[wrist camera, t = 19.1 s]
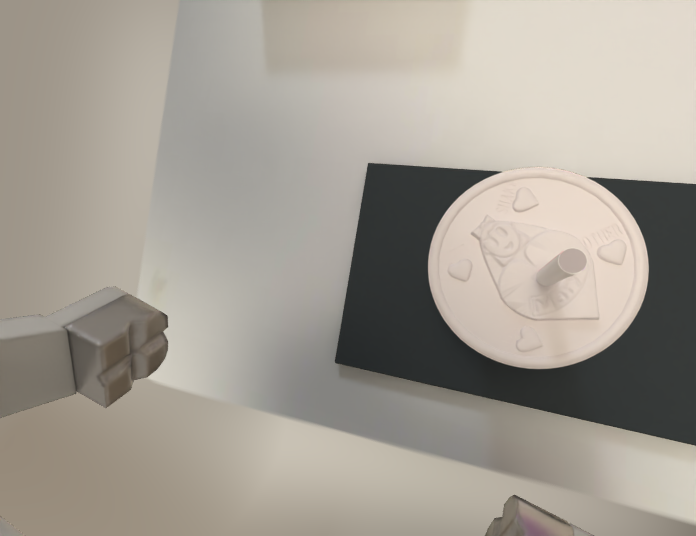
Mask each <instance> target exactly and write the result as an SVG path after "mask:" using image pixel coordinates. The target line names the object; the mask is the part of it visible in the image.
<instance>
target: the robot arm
mask: <svg viewBox="0 0 696 536" xmlns="http://www.w3.org/2000/svg"><path fill="white" fill-rule="evenodd" d="M166 328H168V316H167V315H166V314H164V313H163V312H161V311H159V310H157V309H156V308H154V307H152V306H150V305H148V304H147V303H145V302H143V301H141V300H140V299H138V298H136V297H134V296H132V295H130V294H128V293H126V292H124V291H123V290H121V289H119V288H117V287H106V288H104V289H102V290H100V291H98V292H96V293H94V294H91V295H89V296H87V297H85V298H83V299H81V300H79V301H77V302H75V303H73V304H71V305H69V306H67V307H65V308H63V309H60V310H58V311H56V312H54V313H52V314H50V315H48V316H46V317H44V316H42V315H40V314H39V315H31V316H23V317H15V318H6V319H0V418H1V417H5V416H7V415H11V414H14V413H17V412H20V411H23V410H27V409H30V408H33V407H36V406H39V405H42V404H45V403H49V402H52V401H55V400H58V399H61V398H64V397H68V396H71V395H74V394H76V391H77V392H79V393H80V394H82V395H84V396H86V397H87V398H89V399H91V400H92V401H94V402H96V403H98V404H99V405H101V406H103V407H105V408H107V407H108V406H110V405H111V404H112V403H114V402H115V401H116V400H117V399H119V398H120V397H122V396H123V395H124V394H126V393H127V392H128V391H129V390H131V388H132V385H133V382H134V380H137V379H141V378H146V377H148V376H149V375H151V374H152V373H153V372H154V371H156V370H157V369H158V367H159V366H160V365H161V363H162V362H163V361H164V359H165V357H166V354H167V351H168V341H167V338H166V336H165V334H164V332H163V331H164V330H165V329H166ZM0 536H26V535H24V534H23V533H22V532H21V531H19V530H18V529H17V528H15V527H14V526H13V525H11V524H10V523H9V522H8V521H6V520H5V519H4V518H2V517H1V516H0ZM485 536H594V535H592V534H590V533H588V532H586V531H584V530H582V529H580V528H578V527H576V526H574V525H572V524H570V523H568V522H567V521H565V520H563V519H561V518H559V517H557V516H556V515H553V514H552V513H549V512H548V511H546V510H544V509H542V508H540V507H538V506H536V505H534V504H531V503H530V502H528V501H526V500H524V499H522V498H520V497H518V496H516V495H513V496H511V497H510V498H509V499H508V500H507V502H506V503H505V504H504V510H503V517H499V518H495V519H494V520H493V522H492V523H491V525H490V526H489V528H488V530H487V533H486V535H485Z"/></svg>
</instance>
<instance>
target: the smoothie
mask: <svg viewBox="0 0 696 536" xmlns="http://www.w3.org/2000/svg"><path fill="white" fill-rule="evenodd" d="M648 273H649V265H648V255H647V249H646V245H645V242H644V238H643V236H642V233H641V231H640V228H639V226H638V225H637V223H636V221H635V219H634V218H633V216H632V215H631V213H630V212H629V211H628V209H627V208H626V207H625V206H624V205H623V203H622V202H621V201H620V200H619V199H618V198H617V197H616V196H614V195H613V194H612V193H611V192H610V191H608V190H607V189H606V188H604V187H603V186H601V185H600V184H598V183H596V182H595V181H593V180H591V179H589V178H587V177H584V176H582V175H579V174H576V173H574V172H570V171H566V170H562V169H556V168H548V167H527V168H518V169H513V170H509V171H505V172H501V173H498V174H496V175H493V176H491V177H489V178H486V179H484V180H482V181H481V182H479V183H477V184H475V185H474V186H472V187H471V188H470V189H468V190H467V191H465V192H464V193H463V194H462V195H461V196H460V197H459V198H458V199H457V200H456V201H455V202H454V203H453V204H452V205H451V206H450V207H449V209H448V210H447V211H446V213H445V214H444V216H443V217H442V219H441V220H440V222H439V224H438V226H437V228H436V231H435V233H434V236H433V239H432V242H431V246H430V251H429V258H428V276H429V283H430V288H431V292H432V295H433V299H434V301H435V304H436V306H437V308H438V310H439V312H440V314H441V316H442V317H443V319H444V321H445V322H446V323H447V325H448V326H449V327H450V328H451V329H452V331H453V332H454V333H455V334H456V335H457V336H458V337H459V338H460V339H461V340H462V341H463V342H465V343H466V344H467V345H468V346H470V347H471V348H473V349H474V350H476V351H477V352H479V353H481V354H482V355H484V356H486V357H488V358H490V359H493V360H495V361H498V362H501V363H504V364H507V365H511V366H515V367H521V368H528V369H551V368H558V367H563V366H568V365H572V364H575V363H578V362H581V361H584V360H586V359H588V358H590V357H592V356H594V355H596V354H598V353H599V352H601V351H603V350H604V349H606V348H607V347H608V346H610V345H611V344H612V343H613V342H615V341H616V340H617V339H618V338H619V337H620V336H621V335H622V334H623V333H624V332H625V331H626V329H627V328H628V327H629V325H630V324H631V323H632V321H633V320H634V318H635V316H636V315H637V313H638V311H639V309H640V307H641V304H642V302H643V299H644V296H645V293H646V289H647V283H648Z"/></svg>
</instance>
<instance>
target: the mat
mask: <svg viewBox="0 0 696 536" xmlns="http://www.w3.org/2000/svg"><path fill="white" fill-rule="evenodd" d="M498 173H501V172H498V171H483V170H467V169H452V168H436V167H421V166H405V165H390V164H374V163H368V167H367V173H366V179H365V185H364V191H363V197H362V203H361V209H360V215H359V221H358V227H357V233H356V239H355V245H354V251H353V257H352V263H351V269H350V275H349V281H348V287H347V293H346V299H345V305H344V311H343V317H342V323H341V329H340V335H339V341H338V347H337V353H336V359H335V363H338V364H342V365H347V366H351V367H355V368H360V369H364V370H369V371H373V372H377V373H382V374H386V375H390V376H395V377H399V378H403V379H408V380H412V381H417V382H421V383H425V384H430V385H434V386H438V387H443V388H447V389H451V390H456V391H460V392H465V393H469V394H473V395H478V396H482V397H486V398H491V399H495V400H499V401H504V402H508V403H513V404H517V405H521V406H526V407H530V408H534V409H539V410H543V411H547V412H552V413H556V414H561V415H565V416H569V417H574V418H578V419H582V420H587V421H591V422H595V423H600V424H604V425H609V426H613V427H617V428H622V429H626V430H630V431H635V432H639V433H643V434H648V435H652V436H657V437H661V438H665V439H670V440H674V441H678V442H683V443H687V444H691V445H696V184H684V183H669V182H653V181H638V180H622V179H607V178H591V177H587V178H589V179H591V180H593V181H595V182H596V183H598V184H600V185H601V186H603V187H604V188H606V189H607V190H608V191H610V192H611V193H612V194H613V195H614V196H616V197H617V198H618V199H619V200H620V201H621V202H622V203H623V205H624V206H625V207H626V208H627V209H628V211H629V212H630V213H631V215H632V216H633V218H634V219H635V221H636V223H637V225H638V226H639V228H640V231H641V233H642V236H643V238H644V242H645V245H646V249H647V255H648V265H649V273H648V283H647V289H646V293H645V296H644V299H643V302H642V304H641V307H640V309H639V311H638V313H637V315H636V316H635V318H634V320H633V321H632V323H631V324H630V325H629V327H628V328H627V329H626V331H625V332H624V333H623V334H622V335H621V336H620V337H619V338H618V339H617V340H616V341H615V342H613V343H612V344H611V345H610V346H608V347H607V348H606V349H604V350H603V351H601V352H599V353H598V354H596V355H594V356H592V357H590V358H588V359H586V360H584V361H581V362H578V363H575V364H572V365H568V366H563V367H558V368H551V369H528V368H521V367H515V366H511V365H507V364H504V363H501V362H498V361H495V360H493V359H490V358H488V357H486V356H484V355H482V354H481V353H479V352H477V351H476V350H474V349H473V348H471V347H470V346H468V345H467V344H466V343H465V342H463V341H462V340H461V339H460V338H459V337H458V336H457V335H456V334H455V333H454V332H453V331H452V329H451V328H450V327H449V326H448V325H447V323H446V322H445V321H444V319H443V317H442V316H441V314H440V312H439V310H438V308H437V306H436V304H435V301H434V299H433V295H432V292H431V288H430V283H429V276H428V258H429V251H430V246H431V242H432V239H433V236H434V233H435V231H436V228H437V226H438V224H439V222H440V220H441V219H442V217H443V216H444V214H445V213H446V211H447V210H448V209H449V207H450V206H451V205H452V204H453V203H454V202H455V201H456V200H457V199H458V198H459V197H460V196H461V195H462V194H463V193H464V192H465V191H467V190H468V189H470V188H471V187H472V186H474V185H475V184H477V183H479V182H481V181H482V180H484V179H486V178H489V177H491V176H493V175H496V174H498Z"/></svg>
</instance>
